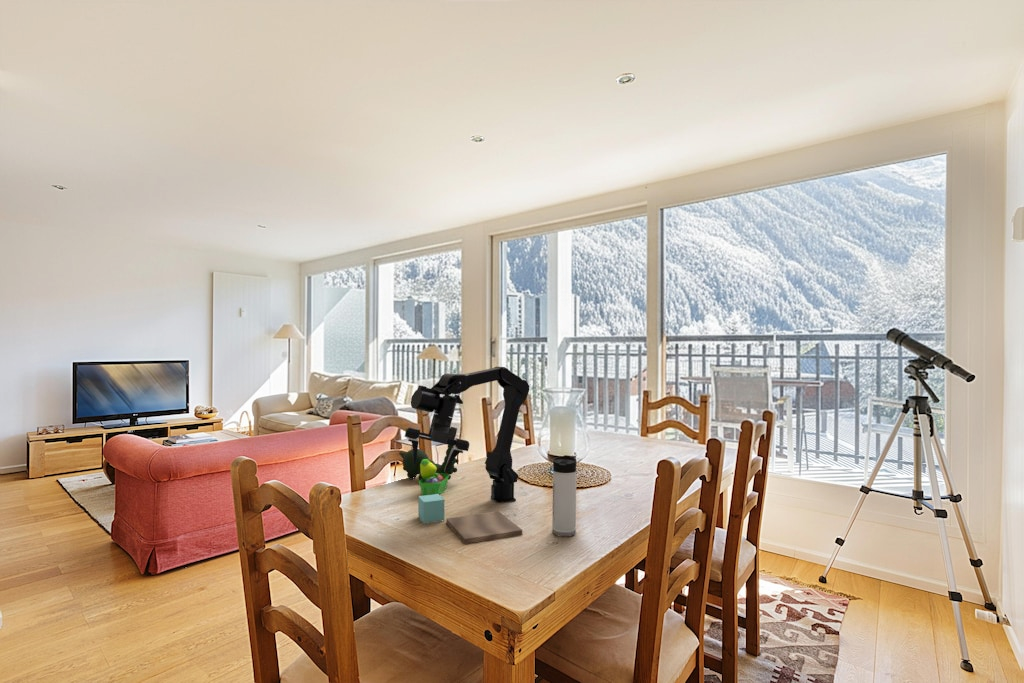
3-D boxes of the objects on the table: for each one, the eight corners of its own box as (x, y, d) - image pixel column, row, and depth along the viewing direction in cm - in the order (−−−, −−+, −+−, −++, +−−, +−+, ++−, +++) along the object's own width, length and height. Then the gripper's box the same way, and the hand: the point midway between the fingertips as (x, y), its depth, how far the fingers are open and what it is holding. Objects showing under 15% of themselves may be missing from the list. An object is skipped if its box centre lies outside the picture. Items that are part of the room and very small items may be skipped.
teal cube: (438, 514, 147) (438, 493, 147) (444, 520, 142) (444, 499, 142) (418, 516, 145) (418, 496, 145) (423, 523, 139) (423, 502, 139)
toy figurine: (460, 486, 182) (405, 471, 193) (464, 434, 181) (409, 423, 192) (445, 492, 173) (389, 477, 184) (450, 439, 173) (393, 426, 183)
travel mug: (578, 529, 136) (578, 456, 136) (573, 538, 130) (573, 461, 130) (555, 526, 138) (556, 454, 138) (549, 535, 132) (550, 459, 132)
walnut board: (498, 515, 147) (498, 511, 147) (522, 534, 132) (522, 529, 132) (446, 522, 140) (446, 518, 140) (464, 543, 125) (465, 539, 125)
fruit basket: (439, 498, 162) (440, 463, 162) (413, 497, 163) (414, 462, 163) (450, 488, 173) (450, 456, 173) (425, 487, 174) (426, 454, 174)
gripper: (412, 408, 138) (397, 464, 135) (477, 423, 141) (463, 479, 138) (411, 408, 149) (397, 460, 146) (472, 422, 152) (459, 474, 149)
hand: (429, 468), depth 144 cm, fingers open, 9 cm apart
